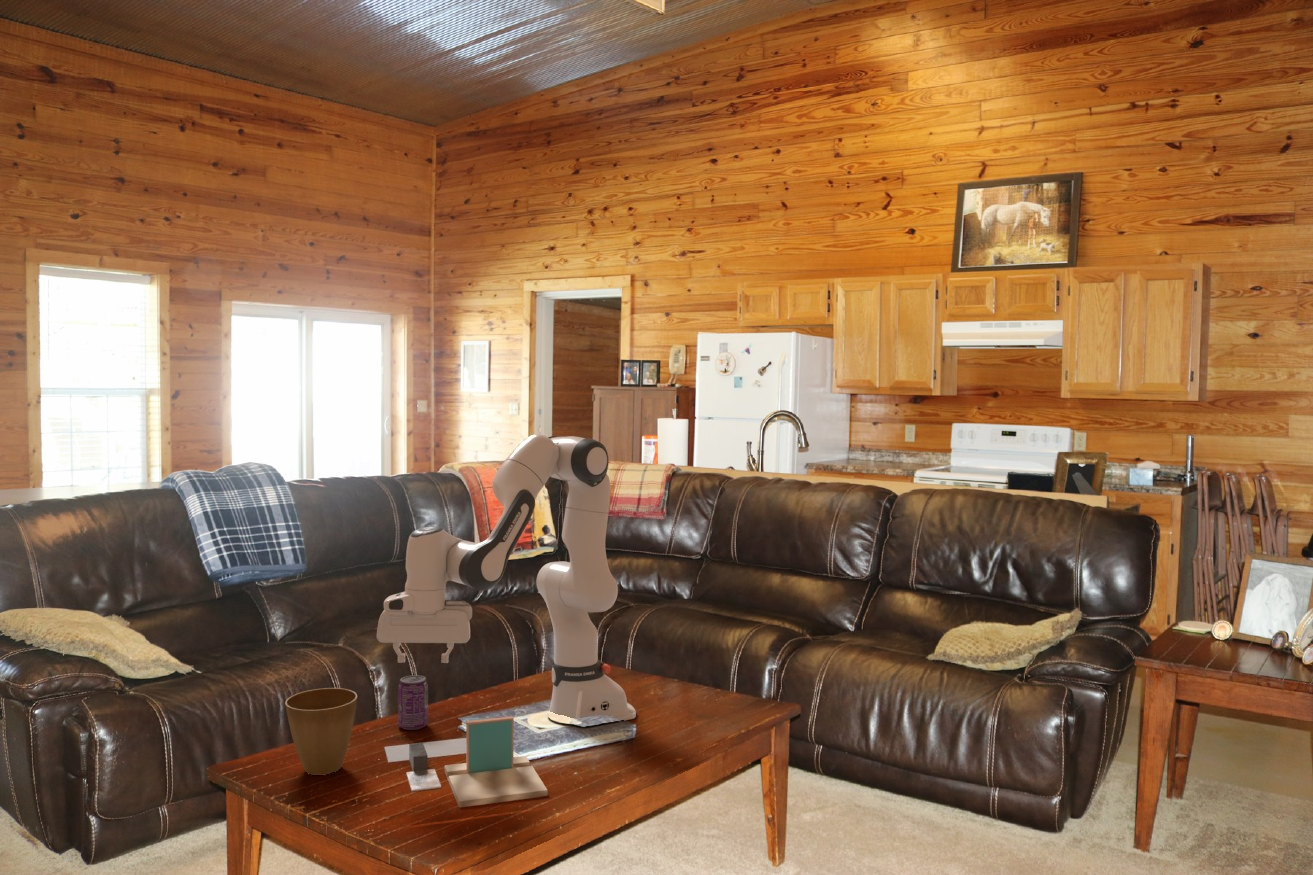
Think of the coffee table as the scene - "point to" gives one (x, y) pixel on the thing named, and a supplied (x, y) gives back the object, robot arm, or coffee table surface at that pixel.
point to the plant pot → (321, 727)
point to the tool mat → (428, 749)
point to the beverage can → (412, 702)
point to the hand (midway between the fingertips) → (423, 662)
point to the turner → (421, 770)
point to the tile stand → (495, 783)
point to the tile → (489, 744)
